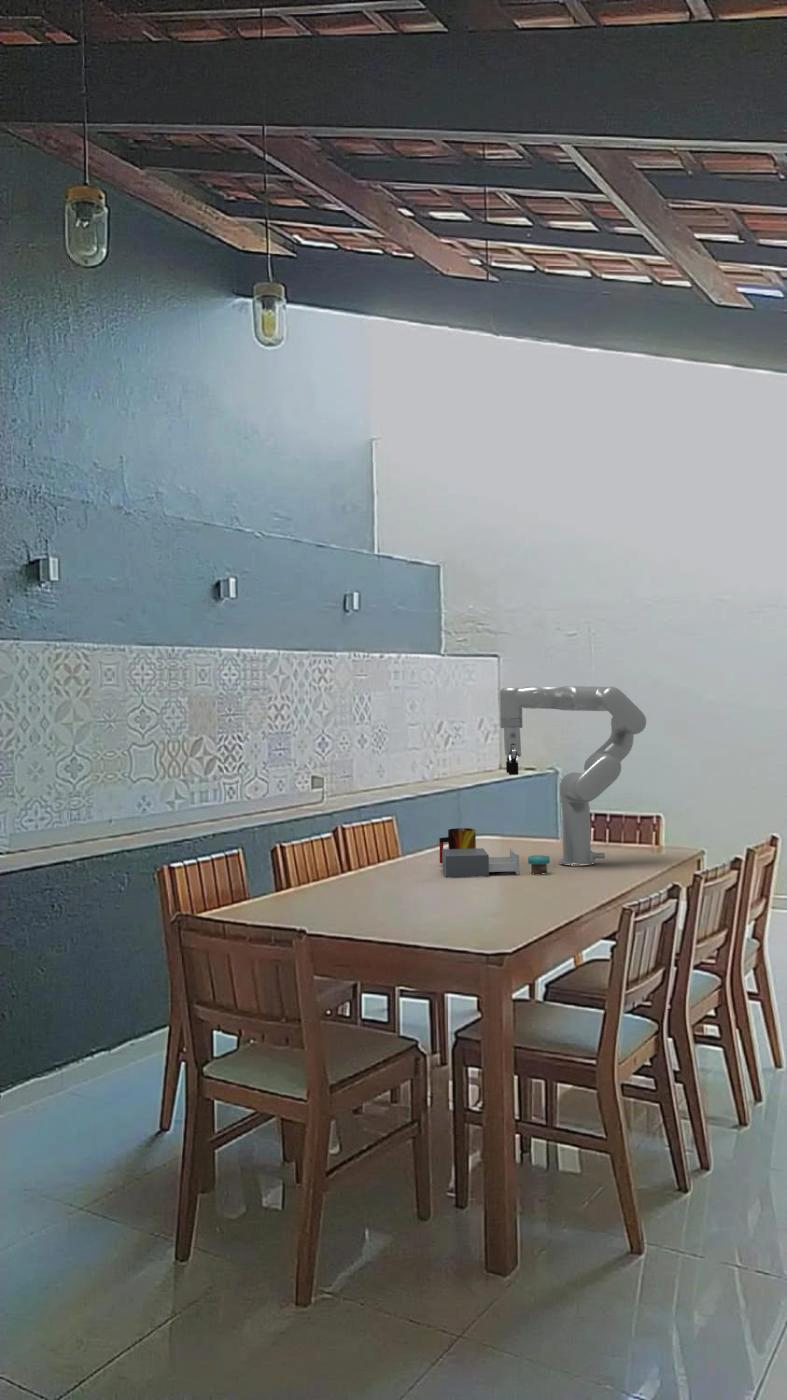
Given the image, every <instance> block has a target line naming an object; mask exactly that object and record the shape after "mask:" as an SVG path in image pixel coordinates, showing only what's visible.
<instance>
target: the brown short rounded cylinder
mask: <svg viewBox="0 0 787 1400" xmlns="http://www.w3.org/2000/svg"><path fill="white" fill-rule="evenodd" d="M530 866H531V867H530V868H531V874H532V873H534V874H533V875H535V874H542V873H547V872H548V870H547V869H548V867H547V866H548V864H541V865H537V864H530ZM547 874H548V873H547Z"/></svg>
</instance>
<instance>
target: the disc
mask: <svg viewBox="0 0 787 1400" xmlns="http://www.w3.org/2000/svg"><path fill="white" fill-rule="evenodd" d="M527 858H528V859H527V861H528V862H527V863H528V864H529V865H531V864H537V865H541V864H547V865H549V864H550V863H551V862H550V856H548V855H539V854H538V855H536V854H535V855H529V856H528V857H527Z"/></svg>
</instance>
